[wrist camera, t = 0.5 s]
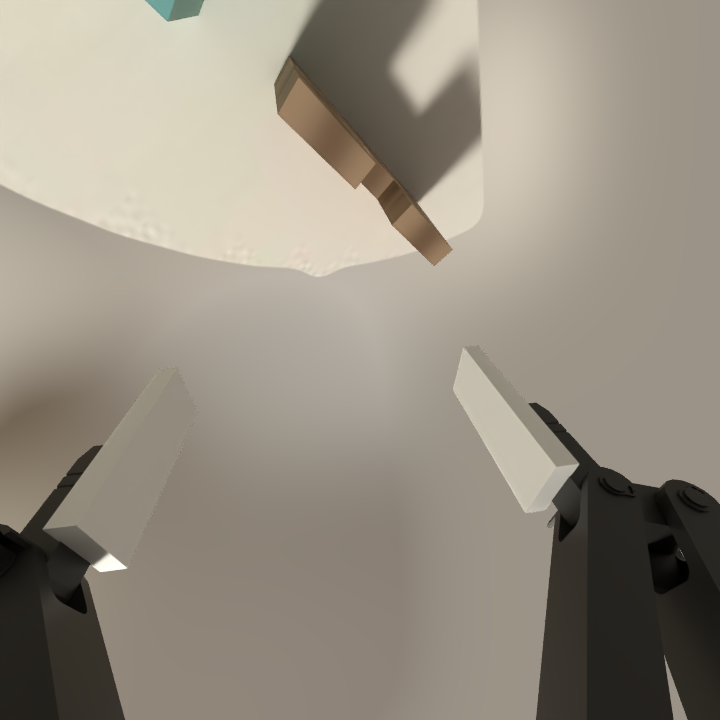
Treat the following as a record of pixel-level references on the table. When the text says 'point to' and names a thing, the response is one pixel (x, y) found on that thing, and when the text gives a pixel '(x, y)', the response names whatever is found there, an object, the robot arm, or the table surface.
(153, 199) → the table surface
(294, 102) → the walnut slotted plate
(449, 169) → the table surface
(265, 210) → the table surface
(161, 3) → the teal slotted plate
